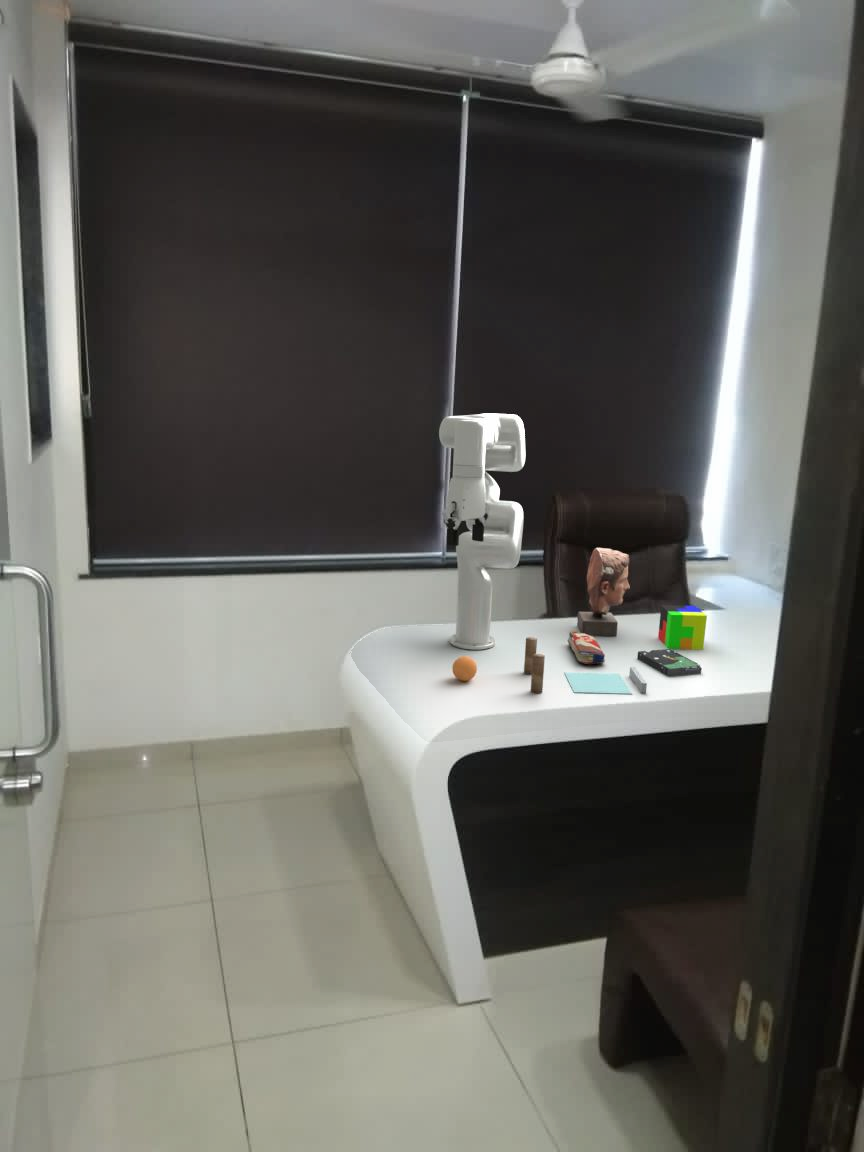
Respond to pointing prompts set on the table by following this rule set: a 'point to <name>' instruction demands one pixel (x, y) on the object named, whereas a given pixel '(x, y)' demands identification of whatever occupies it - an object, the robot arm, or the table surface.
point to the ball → (464, 668)
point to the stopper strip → (638, 680)
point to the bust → (604, 591)
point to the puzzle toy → (682, 627)
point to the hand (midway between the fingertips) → (465, 543)
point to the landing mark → (597, 683)
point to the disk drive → (669, 662)
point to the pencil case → (586, 648)
